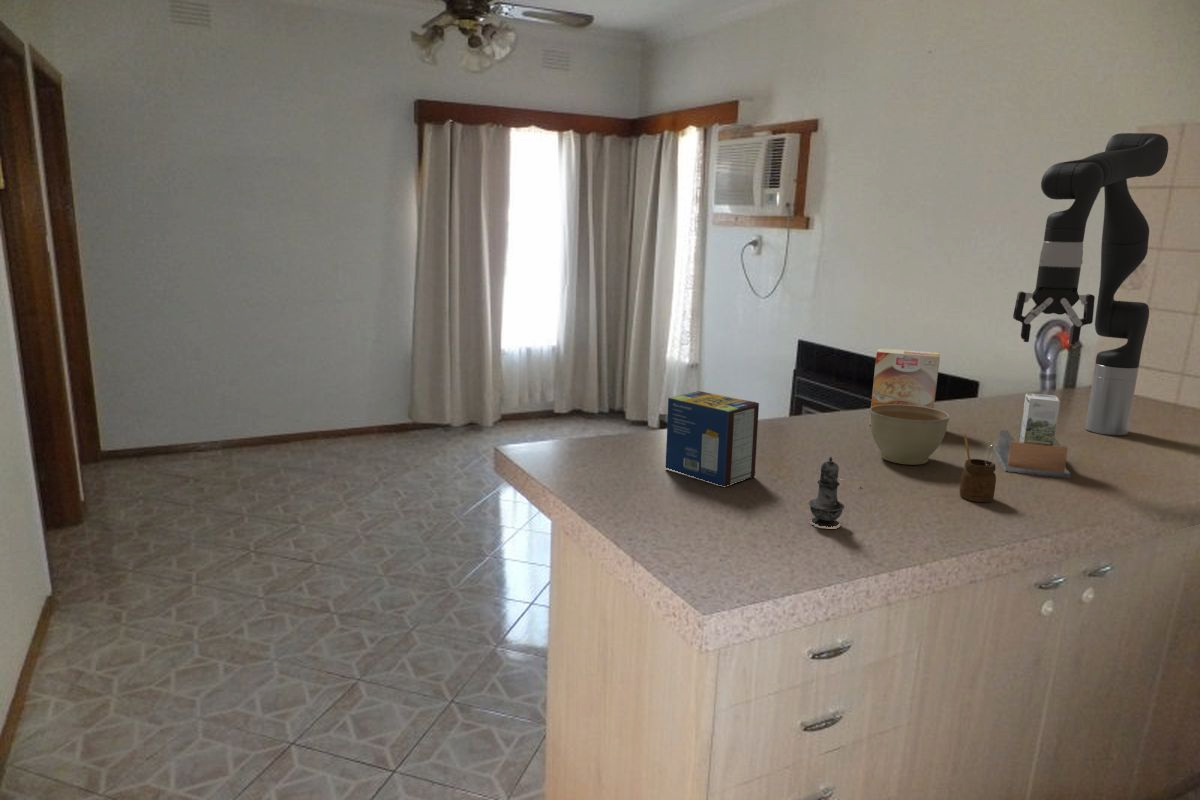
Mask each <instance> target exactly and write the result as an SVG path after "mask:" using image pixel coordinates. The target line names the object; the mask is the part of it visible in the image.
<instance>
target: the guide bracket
mask: <svg viewBox="0 0 1200 800" xmlns="http://www.w3.org/2000/svg"><path fill="white" fill-rule="evenodd" d="M998 438H999V439H998V444H997V445H995V444H994V445H993V449H994V451H993V452H994V454H995V455H997V456H996V458H998V459H997V460H999V463H1000V462H1001V463H1000V464H1002V465H1001V466H1002V469H1003V470H1004V472H1006V471H1008V472H1007V473H1015V472H1017V473H1016V474H1025V473H1026V474H1027V475H1034V474H1037V475H1036V476H1043V475H1045V477H1056V478H1062V477H1063V479H1070V478H1071V473H1070V471H1069V470H1068V469H1067V468H1066V464H1067V463H1066V462H1067V457H1068V456H1067V455H1068V450H1069V447H1068V446H1067V445H1061V443H1060V442H1059V441H1058V440H1057V439H1056V437H1054V443H1053V445H1051V444H1041V443H1030V442H1020V441H1019V440H1018V441H1016V440H1015V439H1014V438H1013V436H1012V435H1011V433H1010V432H1009V431H1008V430H1006V429H1000V431H999V437H998ZM994 446H995V448H994ZM997 446H998V447H997ZM999 447H1000V448H999ZM998 450H999V451H998ZM997 452H998V454H997ZM999 453H1000V454H999ZM998 456H999V457H998Z"/></svg>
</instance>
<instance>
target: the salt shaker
mask: <svg viewBox="0 0 1200 800" xmlns="http://www.w3.org/2000/svg"><path fill="white" fill-rule="evenodd" d="M839 469H840V467H839V465H838V463H836V462H834V461H833V457H832V456H830V457H829V458H828V460H827V461H825V462H823V463H822V464H821V466H820V472H821V474H819V480H817V484H818V493H817V496H816V498H813V499H811V500H809V501H808V504H809V506H810V512H811V514H812V515H813V516H814V517H812V518H811V519H812V522H813V523H815V524H818V525H819V526H826V527H827V526H828V527H831V526H832V527H833V526H837V525H838V524H839V523H840V522H839V521H838V520H837V519H838V518H840V517H841V515H842V513H843V510H844V509H845V504H844V503H842V502H841V501H838V487H839V486H840V484H841V483H839V482H838V478H839Z"/></svg>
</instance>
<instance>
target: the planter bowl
mask: <svg viewBox="0 0 1200 800" xmlns="http://www.w3.org/2000/svg"><path fill="white" fill-rule="evenodd" d="M869 414H870V415H871V419H870V418H869V422H870V424H871V426H870V430H871V434H872V438H873V440H874V442H875V444H876V446H877V447H878V449H879V451H880V456H881V458H882V459H883V460H885V461H888V462H891V463H894V464H897V463H898V464H900V465H910V466H912V465H913V466H914V465H915V466H917V465H924V464H926V463H928V460H929V458H930V457H931V455H932V454H934V452H936V450H937V449H938V448H939V446H940V445H941V443H942V441H943V440H944V438H945V435H946V432H947V427H948V422H949V420H950V415H949V414H948V413H947V412H945V411H942V410H939V409H935V408H934V409H932V408H927V407H920V406H911V405H891V404H890V405H877V406H873V407H871V406H870V409H869ZM870 415H869V416H870Z"/></svg>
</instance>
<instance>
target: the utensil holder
mask: <svg viewBox="0 0 1200 800" xmlns="http://www.w3.org/2000/svg"><path fill="white" fill-rule="evenodd" d="M963 437H964V445H965V452H966V454H967V459H966V460H965V462H964V469H963V470H962V472H961V477H960V484H959V496H960V497H961V498H962V497H963V498H962V499H964V498H965V499H964V500H966V499H968V500H967V501H969V500H971V501H970V502H973V501H976V502H975V503H981V502H985V503H990V502H992V501H993V500H994V497H995V491H996V485H997V484H996V483H997V475H996V473H995V471H996V464H995V463H996V462H997V460H999V459H998V457H999V456H998V457H997V455H996V454H995V455H996V456H995V458H994V460H993V461H991V458H992V456H993V453H991V455H990V457H989V460H987V458H988V457H987V456H988V453H989V450H990V448H991V447H992V446H993V449H992V452H995V451H994V448H995V446H997V447H998V444H997V443H990V444H989V446H988V448H987V450H985V451H984V456H983V457H984V459H980V458H979V459H978V458H971V457H970V447H969V441H968V436H967V433H965V434H964V435H963ZM994 445H995V446H994ZM999 448H1000V447H999ZM998 451H999V450H998ZM997 454H998V452H997ZM999 454H1000V453H999ZM996 458H997V459H996Z"/></svg>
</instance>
